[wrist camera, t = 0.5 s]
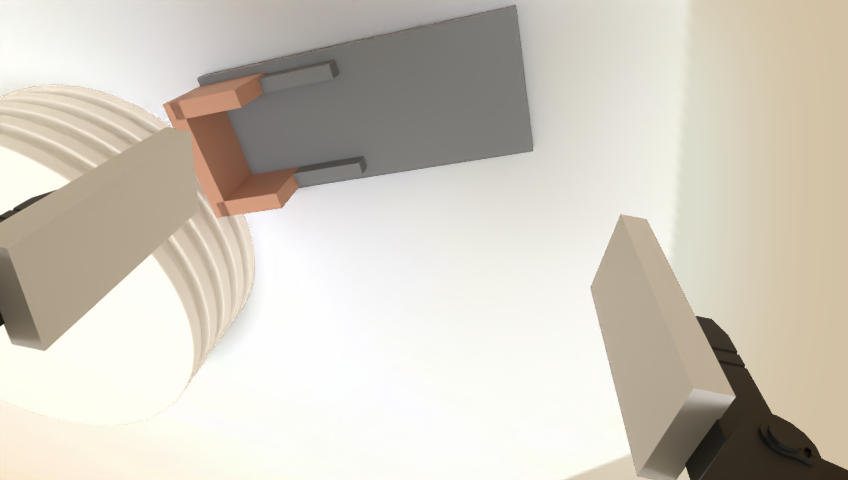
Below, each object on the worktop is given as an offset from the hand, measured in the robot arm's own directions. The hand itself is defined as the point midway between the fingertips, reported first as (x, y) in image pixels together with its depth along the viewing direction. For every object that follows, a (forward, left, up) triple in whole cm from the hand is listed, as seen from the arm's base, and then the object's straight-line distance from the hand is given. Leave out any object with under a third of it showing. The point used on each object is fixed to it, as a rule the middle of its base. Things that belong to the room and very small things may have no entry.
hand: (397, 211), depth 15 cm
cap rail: (+3, -8, -24) cm, 25 cm away
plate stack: (+10, -36, -24) cm, 44 cm away
